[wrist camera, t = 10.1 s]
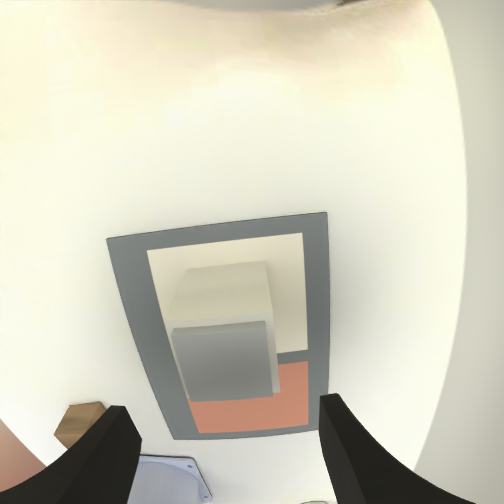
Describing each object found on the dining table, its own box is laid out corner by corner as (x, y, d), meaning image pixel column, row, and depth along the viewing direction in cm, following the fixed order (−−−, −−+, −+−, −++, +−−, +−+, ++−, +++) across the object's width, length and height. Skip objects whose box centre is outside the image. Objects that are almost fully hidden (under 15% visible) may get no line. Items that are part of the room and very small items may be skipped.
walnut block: (125, 430, 24) (114, 463, 20) (94, 433, 24) (82, 463, 20) (100, 400, 22) (84, 433, 19) (70, 404, 23) (53, 434, 19)
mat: (325, 426, 23) (325, 428, 23) (174, 437, 24) (173, 439, 23) (326, 212, 18) (327, 212, 17) (107, 238, 18) (105, 239, 18)
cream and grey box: (271, 327, 20) (281, 400, 13) (201, 333, 20) (185, 407, 14) (264, 260, 18) (274, 319, 12) (187, 268, 18) (160, 329, 12)
